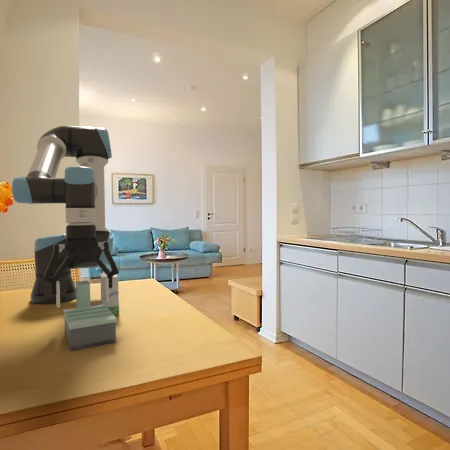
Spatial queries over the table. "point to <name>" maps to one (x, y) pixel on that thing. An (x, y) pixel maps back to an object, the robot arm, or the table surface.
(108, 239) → the robot arm
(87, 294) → the lid
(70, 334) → the tub
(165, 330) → the table surface
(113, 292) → the ink box
